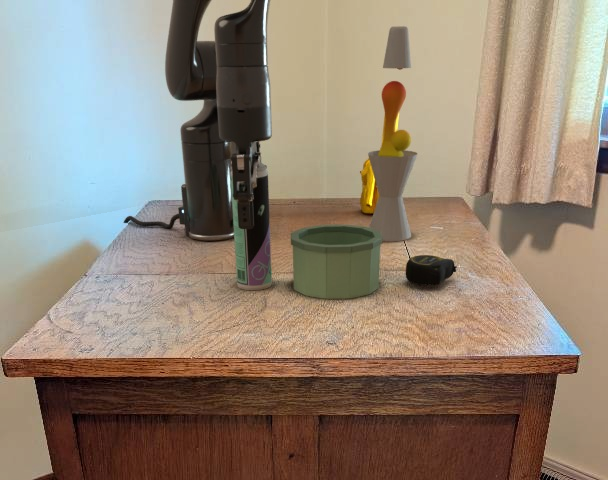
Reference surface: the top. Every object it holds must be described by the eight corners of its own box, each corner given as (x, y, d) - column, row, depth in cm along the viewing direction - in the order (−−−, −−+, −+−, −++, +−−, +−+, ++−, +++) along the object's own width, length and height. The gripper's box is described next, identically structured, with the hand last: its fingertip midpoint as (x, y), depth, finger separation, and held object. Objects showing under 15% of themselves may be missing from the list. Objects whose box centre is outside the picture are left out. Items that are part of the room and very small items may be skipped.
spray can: (267, 291, 110) (261, 151, 100) (232, 289, 111) (224, 150, 101) (275, 280, 115) (270, 146, 105) (242, 278, 116) (235, 145, 106)
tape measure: (437, 292, 109) (439, 268, 107) (397, 285, 112) (398, 261, 110) (455, 281, 114) (457, 257, 112) (416, 274, 117) (417, 251, 115)
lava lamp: (359, 239, 137) (365, 26, 119) (373, 228, 144) (381, 26, 127) (405, 243, 134) (418, 26, 116) (417, 232, 142) (431, 26, 124)
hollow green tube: (275, 291, 110) (273, 240, 106) (317, 268, 121) (317, 221, 117) (356, 304, 104) (358, 251, 100) (393, 279, 115) (395, 230, 111)
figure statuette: (359, 204, 166) (362, 98, 154) (393, 204, 165) (399, 97, 154) (357, 221, 150) (360, 105, 139) (395, 221, 150) (401, 105, 139)
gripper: (224, 98, 106) (231, 211, 115) (208, 107, 94) (217, 233, 102) (275, 98, 106) (278, 211, 114) (265, 107, 94) (270, 233, 102)
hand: (249, 221), depth 108 cm, fingers open, 8 cm apart
